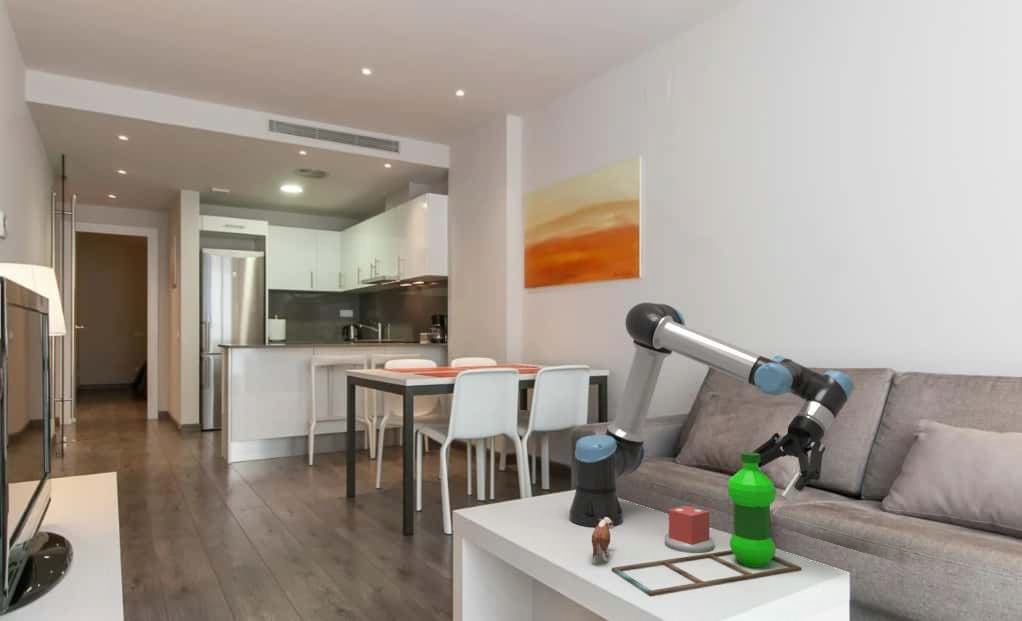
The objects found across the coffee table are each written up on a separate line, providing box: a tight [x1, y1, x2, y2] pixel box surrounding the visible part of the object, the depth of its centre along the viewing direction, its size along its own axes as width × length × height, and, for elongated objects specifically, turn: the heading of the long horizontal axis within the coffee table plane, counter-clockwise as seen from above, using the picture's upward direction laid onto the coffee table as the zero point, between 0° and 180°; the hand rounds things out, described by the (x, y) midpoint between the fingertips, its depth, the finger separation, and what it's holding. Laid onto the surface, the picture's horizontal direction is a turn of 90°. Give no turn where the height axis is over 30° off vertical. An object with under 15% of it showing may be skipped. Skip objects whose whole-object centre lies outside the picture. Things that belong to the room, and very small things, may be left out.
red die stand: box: [664, 505, 715, 554], centre depth 156 cm, size 12×12×9 cm
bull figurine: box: [591, 517, 614, 565], centre depth 147 cm, size 4×13×8 cm, turn 161°
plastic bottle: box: [727, 451, 777, 568], centre depth 144 cm, size 10×10×25 cm
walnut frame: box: [611, 549, 802, 597], centre depth 138 cm, size 15×40×1 cm, turn 111°
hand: (763, 493), depth 144 cm, fingers open, 13 cm apart
